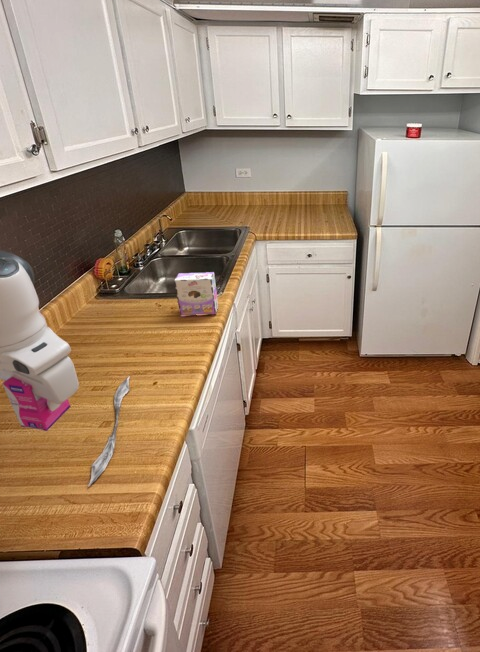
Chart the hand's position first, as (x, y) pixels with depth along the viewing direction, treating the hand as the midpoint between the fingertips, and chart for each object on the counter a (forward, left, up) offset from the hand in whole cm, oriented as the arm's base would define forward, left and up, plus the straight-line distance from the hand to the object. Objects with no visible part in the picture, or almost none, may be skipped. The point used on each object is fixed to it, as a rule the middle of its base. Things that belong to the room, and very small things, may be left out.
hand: (41, 401), depth 64 cm
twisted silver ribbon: (-4, +14, -24) cm, 28 cm away
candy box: (-14, +62, -24) cm, 68 cm away
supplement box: (0, 0, -4) cm, 4 cm away
